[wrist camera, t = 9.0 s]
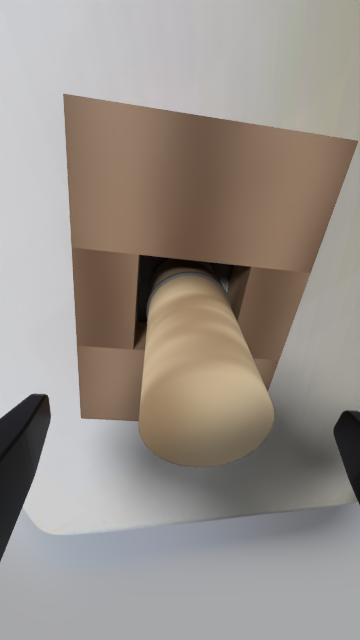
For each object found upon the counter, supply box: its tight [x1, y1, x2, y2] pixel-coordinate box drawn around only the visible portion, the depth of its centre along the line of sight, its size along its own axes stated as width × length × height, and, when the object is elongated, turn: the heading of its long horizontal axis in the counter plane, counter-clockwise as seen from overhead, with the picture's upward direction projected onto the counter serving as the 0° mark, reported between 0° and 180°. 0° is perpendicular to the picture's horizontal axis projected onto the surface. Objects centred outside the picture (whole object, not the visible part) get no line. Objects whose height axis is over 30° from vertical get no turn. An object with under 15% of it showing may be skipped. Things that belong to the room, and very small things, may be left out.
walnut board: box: [63, 94, 358, 421], centre depth 16 cm, size 11×16×3 cm
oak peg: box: [139, 258, 275, 467], centre depth 13 cm, size 4×4×10 cm
